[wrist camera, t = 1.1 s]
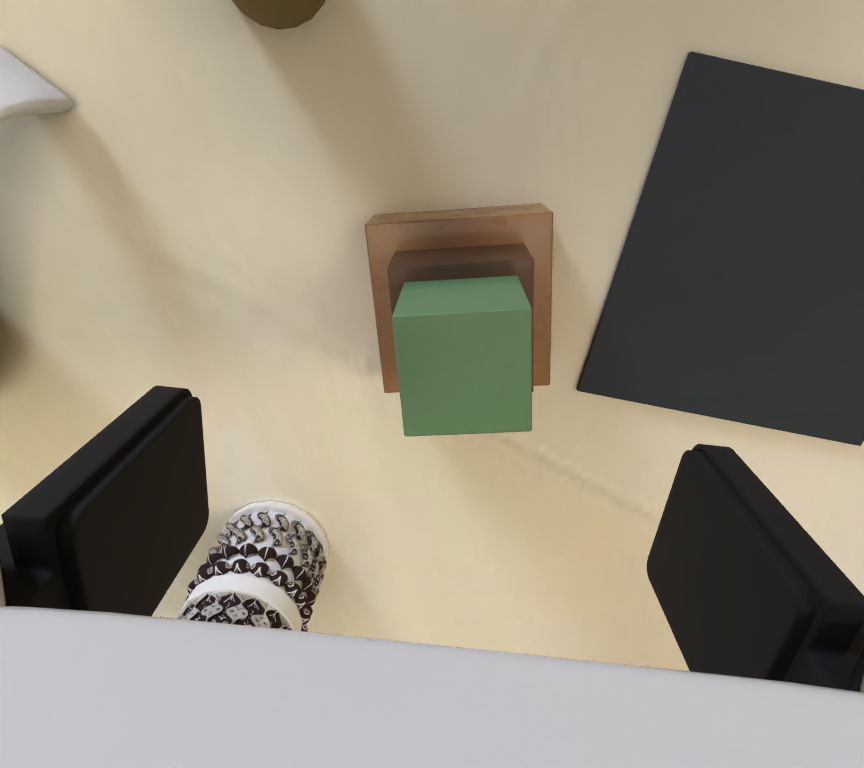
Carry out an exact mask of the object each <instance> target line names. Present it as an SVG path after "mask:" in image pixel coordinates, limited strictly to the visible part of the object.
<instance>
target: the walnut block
mask: <svg viewBox="0 0 864 768" xmlns="http://www.w3.org/2000/svg"><path fill="white" fill-rule="evenodd" d="M387 273H388V283H389V292H390V302H391V312H392V316H393V313H394V310H395V307H396V305H397V302H398V299H399V296H400V293H401V290H402V287H403V284H404V282H416V281H432V280H449V279H466V278H482V277H499V276H515V275H517V276H518V278H519V280H520V282H521V285H522V287H523V289H524V292H525V294H526V296H527V299H528V301H529V303H530V306H531V308H532V392H533V318H534V259H533V257H532V255H531V254H530V252H529V250H528V249H527V247H526V245H525V244H524V243H519V244H504V245H488V246H472V247H456V248H441V249H425V250H409V251H396V252H395V253H394V255H393V257H392V259H391V261H390V263H389V265H388V267H387ZM392 321H393V320H392ZM393 331H394V330H393ZM394 341H395V340H394ZM395 350H396V349H395ZM396 360H397V359H396ZM397 370H398V369H397ZM398 379H399V378H398ZM399 389H400V388H399Z"/></svg>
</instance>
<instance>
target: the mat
mask: <svg viewBox="0 0 864 768" xmlns="http://www.w3.org/2000/svg"><path fill="white" fill-rule="evenodd" d="M577 390H578V391H581V392H587V393H592V394H597V395H602V396H607V397H612V398H617V399H622V400H628V401H633V402H638V403H643V404H648V405H653V406H658V407H664V408H669V409H674V410H679V411H684V412H689V413H694V414H699V415H705V416H710V417H715V418H720V419H725V420H730V421H735V422H740V423H746V424H751V425H756V426H761V427H766V428H771V429H776V430H782V431H787V432H792V433H797V434H802V435H807V436H812V437H817V438H823V439H828V440H833V441H838V442H843V443H848V444H853V445H859V446H861V444H862V443H863V441H864V90H861V89H857V88H852V87H848V86H843V85H839V84H834V83H830V82H825V81H821V80H816V79H812V78H808V77H803V76H799V75H794V74H790V73H785V72H781V71H776V70H772V69H767V68H763V67H758V66H754V65H749V64H745V63H740V62H736V61H732V60H727V59H723V58H718V57H714V56H709V55H705V54H700V53H696V52H689V53H688V56H687V59H686V62H685V65H684V68H683V71H682V74H681V77H680V80H679V83H678V86H677V89H676V92H675V95H674V98H673V101H672V104H671V107H670V110H669V113H668V116H667V119H666V122H665V125H664V128H663V131H662V134H661V137H660V140H659V143H658V146H657V149H656V152H655V155H654V158H653V161H652V164H651V167H650V170H649V173H648V176H647V179H646V182H645V185H644V188H643V191H642V194H641V197H640V200H639V203H638V206H637V209H636V212H635V215H634V218H633V221H632V224H631V227H630V230H629V233H628V236H627V239H626V242H625V245H624V248H623V251H622V254H621V257H620V260H619V263H618V266H617V269H616V272H615V275H614V278H613V281H612V284H611V287H610V290H609V293H608V296H607V299H606V302H605V305H604V308H603V311H602V314H601V317H600V320H599V323H598V326H597V329H596V332H595V335H594V338H593V341H592V344H591V347H590V350H589V353H588V356H587V359H586V362H585V365H584V368H583V371H582V374H581V377H580V380H579V383H578V386H577Z"/></svg>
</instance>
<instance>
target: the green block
mask: <svg viewBox="0 0 864 768" xmlns="http://www.w3.org/2000/svg"><path fill="white" fill-rule="evenodd" d="M392 320H393V330H394V340H395V349H396V359H397V369H398V378H399V388H400V398H401V407H402V417H403V427H404V435H405V436H429V435H453V434H476V433H500V432H524V431H531V430H532V308H531V306H530V303H529V301H528V299H527V296H526V294H525V292H524V289H523V287H522V285H521V282H520V280H519V278H518V276H517V275H515V276H499V277H482V278H466V279H449V280H432V281H416V282H404V284H403V287H402V290H401V293H400V296H399V299H398V302H397V305H396V307H395V310H394V313H393V316H392Z"/></svg>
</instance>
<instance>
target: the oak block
mask: <svg viewBox="0 0 864 768" xmlns="http://www.w3.org/2000/svg"><path fill="white" fill-rule="evenodd" d="M365 230H366V239H367V248H368V256H369V265H370V273H371V282H372V291H373V299H374V308H375V317H376V325H377V334H378V342H379V351H380V360H381V368H382V377H383V385H384V392H385V393H393V392H400V389H399V379H398V370H397V360H396V350H395V341H394V331H393V321H392V312H391V302H390V292H389V283H388V273H387V267H388V265H389V263H390V261H391V259H392V257H393V255H394V253H395V252H396V251H409V250H425V249H441V248H456V247H472V246H488V245H504V244H519V243H524V244H525V245H526V247H527V249H528V250H529V252H530V254H531V255H532V257H533V259H534V318H533V386H541V385H550V350H551V293H552V236H553V213H552V212H551V211H550V210H549V209H548V208H546V207H545V206H544V205H543V204H528V205H514V206H499V207H484V208H470V209H455V210H440V211H426V212H411V213H396V214H382V215H375V216H374V217H373V218H372V219H371V220H370V221H369V222H368V223H367V224H366V225H365Z"/></svg>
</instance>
